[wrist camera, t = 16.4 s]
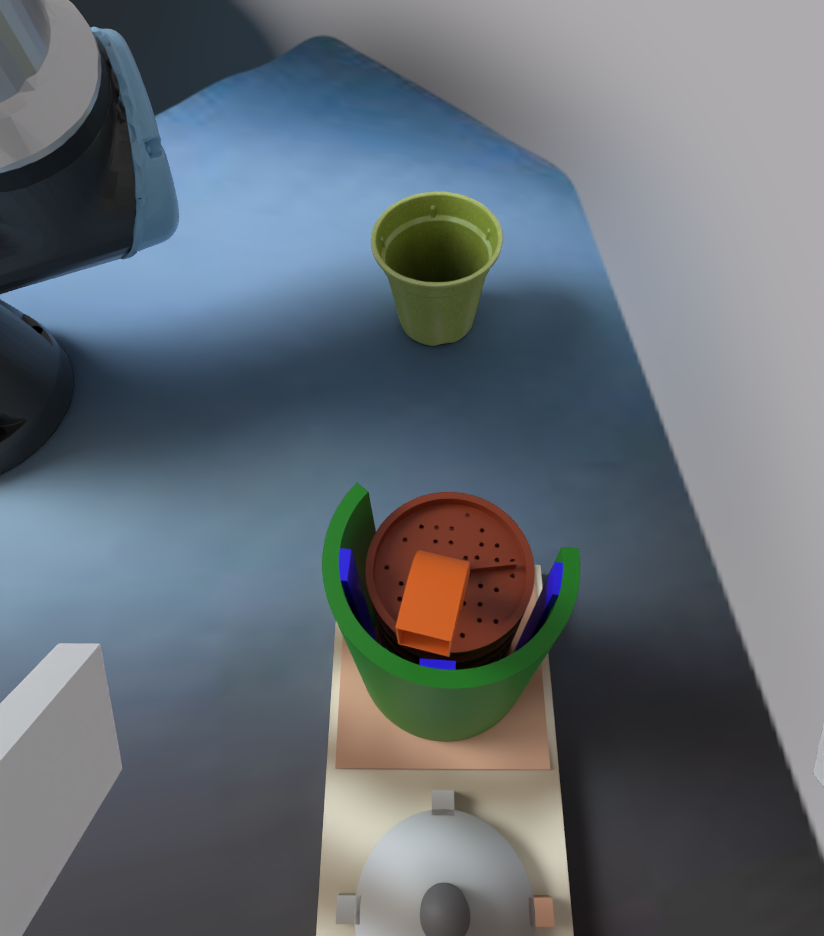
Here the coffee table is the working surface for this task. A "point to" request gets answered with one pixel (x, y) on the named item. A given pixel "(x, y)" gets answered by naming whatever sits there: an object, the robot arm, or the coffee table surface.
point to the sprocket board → (442, 820)
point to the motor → (442, 608)
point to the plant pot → (436, 261)
